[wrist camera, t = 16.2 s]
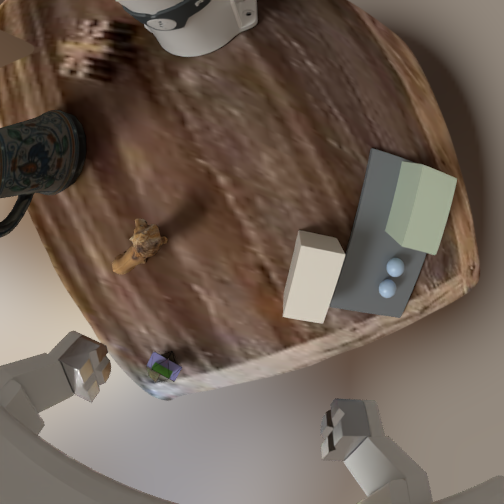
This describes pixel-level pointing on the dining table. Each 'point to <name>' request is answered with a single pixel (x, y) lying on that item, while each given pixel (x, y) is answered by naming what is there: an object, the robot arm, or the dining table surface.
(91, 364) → the robot arm
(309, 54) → the dining table surface
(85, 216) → the dining table surface
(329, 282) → the beige eraser-shaped brick
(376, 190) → the slate board
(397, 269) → the marble
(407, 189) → the pale green prism
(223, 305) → the dining table surface
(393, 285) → the marble
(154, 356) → the geometric puzzle
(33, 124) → the beer stein
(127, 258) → the lion figurine
